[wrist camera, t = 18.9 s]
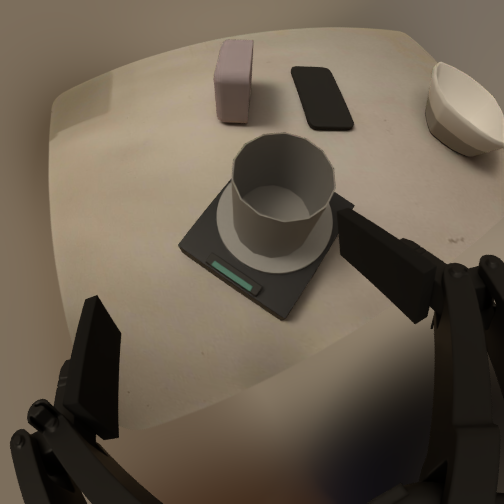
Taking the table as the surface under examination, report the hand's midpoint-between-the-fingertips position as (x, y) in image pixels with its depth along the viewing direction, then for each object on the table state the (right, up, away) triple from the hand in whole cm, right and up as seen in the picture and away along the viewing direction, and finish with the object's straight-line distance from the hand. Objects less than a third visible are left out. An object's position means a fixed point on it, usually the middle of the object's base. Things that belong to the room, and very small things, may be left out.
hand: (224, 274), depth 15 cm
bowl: (+39, +25, +29) cm, 55 cm away
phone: (+13, +26, +28) cm, 41 cm away
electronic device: (-1, +24, +27) cm, 36 cm away
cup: (+4, +4, +18) cm, 19 cm away
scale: (+3, +3, +21) cm, 22 cm away
